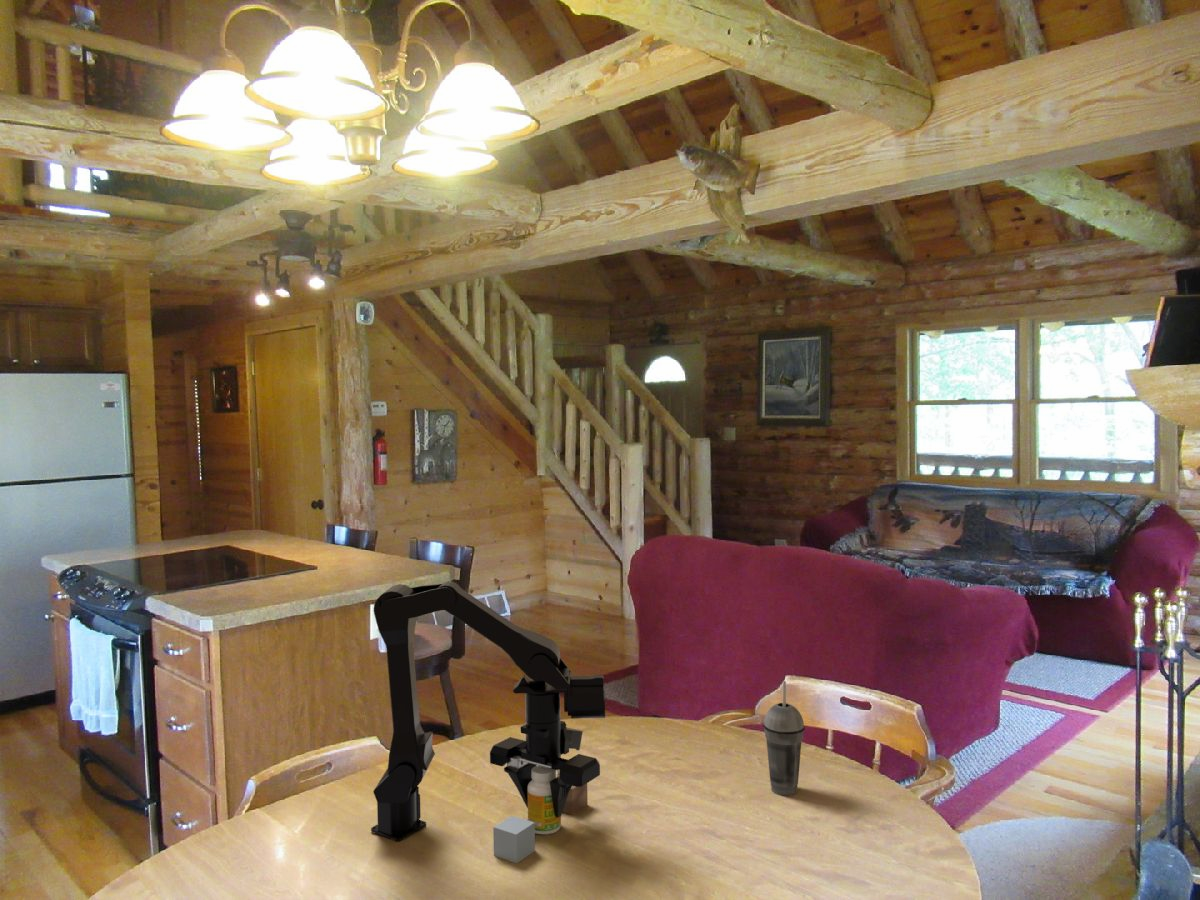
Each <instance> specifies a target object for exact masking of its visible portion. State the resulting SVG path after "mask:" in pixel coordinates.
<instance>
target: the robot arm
mask: <svg viewBox="0 0 1200 900" xmlns="http://www.w3.org/2000/svg"><path fill="white" fill-rule="evenodd" d="M441 611H444V612H447V613H448V614H450V615H451V616H452V617H454V618H456V619H457V620H458V621H460V622H462V623H463V624H465V625H466V626H468V627H470V629H472V630H474V631H475V632H477V633H478V634H479V635H481V636H482V637H484V638H486V639H487V640H489V641H490V642H491V643H493V644H495V645H496V646H497V647H498V648H500V649H502V650H503V651H504V652H505V653H506V655H508V657H509V658H510V659H511V661H512V662H513V663H514V664H515V666H516V667H518V668H519V669H520V671H522V672H523V674H522V676H521V677H520V679H519V680H518V681H516V682H515V683H514V686H513V690H512V693H513V694H524V699H525V700H524V701H525V703H524V704H525V705H524V706H525V713H524V714H525V716H524V718H525V724H524V725H522V726H520V733H521V734H524V735H525V740H523V739H519V738H514V737H507V738H505V739H503V740H501V741H500V742H498V743H496V744H493V745H492V747H491V748H490V750H489V763H490V764H491V765H495V766H499V767H504V768H503V772H504V773H507V774H508V776H509V778H510V779H511V781H512V782H513V784H514V786H515V788H516V789H517V791H518V793H519V795H520V796H521V799H522V800H523V801H522V802H524V804H525V806H526V808H527V809H528V784H529V782H530V781H531V780H532V777H531V771H532V768H533V767H535V766H537V765H539V766H543V767H547V768H550V769H554V770H556V771H557V773H556V778H555V779H553V780H552V781H550V788H551V795H552V801H553V808H554V813H555V816H556V817H557V818H558V817H560V816H561V817H562V815H563V813H564V812H563V809H564V806H565V803H566V800H567V797H568V794H569V792H570V789H571V787H572V786H576V787H581V786H584V785H585V784H587V785H588V783H590V782H591V781H593V780H594V779H596V778H598V777H599V776H600V775H601V765H600V761H599V760H598V759H597V758H596V757H593V756H589V755H584V754H582V753H581V754H580V753H577V754H576V755H574V756H573V757H571V758H569V759H567V758H563V757H562V755H566V754H569V753H570V749H573V750H576V751H580V749H581V745H582V738H583V733H584V732H583V730H580V729H576V728H571V727H567V722H566V721H565V720H561V694H562V693H563V712H564V713H567V716H569V717H570V719H606V690H605V685H604V684H605V681H604V680H605V679H604V674H592V675H573V674H572V670H571V669H570V667H568V665H567V664H566V662H564V660H563V659H562V657H561V650H560V646H559V645H558V643H556V642H555V641H554V640H553V639H552V638H550V637H547V636H545V635H543V634H541V633H538V632H537V631H532V630H529V629H526V628H523V627H520V626H518V625H516V624H515V623H513V622H512V621H510V620H508V619H507V618H506V617H504V616H503V615H501V614H500V613H498V612H497V611H495V610H494V609H493V608H492V607H491V608H490V606H488V605H487V604H485V603H484V602H482V601H481V600H479V599H478V598H476V597H475V596H473V595H472V594H470V593H469V592H467V591H466V590H464V589H463V588H462V587H461V586H460V585H459V584H458V583H457V582H454V581H450V580H449V581H444V582H442V583H437V584H435V583H434V584H424V585H417V586H413V587H410V586H409V585H406V584H399V583H398V584H395V585H393V586H391V587H390V588H388V589H387V590H386V591H384V592H383V593H382V594H381V595H379V597H378V598H377V599H376V601H375V602H374V604H373V614H374V615H373V616H374V618H375V622H376V626H377V630H378V632H379V635H380V637H381V639H382V641H383V643H384V644H385V648H386V661H387V671H388V683H389V696H390V708H391V709H390V710H391V719H392V737H391V744H390V747H389V748H390V749H389V754H388V762H387V763H388V764H387V768H386V770H385V771H384V774H383V775H382V777H381V778H380V780H379V781H378V783H377V785H376V786H375V788H374V790H373V794H374V797H375V800H376V803H377V804H376V807H377V809H376V810H377V824H375V825H373V826H372V827H371V828H370V831H371V832H372V833H375V834H377V835H379V836H382V837H386V838H388V839H390V840H394V841H396V842H397V841H401V840H403V839H405V838H407V837H409V836H410V835H412V834H414V833H415V832H417V831H420V830H421V829H423V828H424V827H426V826H427V821H424V820H423V819H422V820H421V795H420V792H419V791H420V789H419V788H420V787H419V785H420V784H421V782H422V781H423V779H424V777H425V775H426V772H427V771H428V769H429V767H430V765H431V763H432V761H433V759H434V757H435V755H436V753H435V750H434V748H433V747H434V746H433V737H434V736H433V735H434V734H433V731H429V732H425V731H424V730H423V727H422V725H421V722H420V712H419V710H420V709H419V699H418V688H417V687H418V686H417V676H416V675H417V674H416V662H415V652H414V651H415V650H414V649H415V648H414V636H415V630H416V625H417V620H418V619H417V618H418V617H421V616H424V615H429V614H432V613H435V612H441Z"/></svg>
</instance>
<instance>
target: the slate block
mask: <svg viewBox="0 0 1200 900" xmlns="http://www.w3.org/2000/svg"><path fill="white" fill-rule="evenodd" d="M492 830H493V856H494V857H497V858H500V859H503V860H506V861H508V862H512V863H514V864H518V863H520V862H521V861H522V860H523V859H525V858H527V857H528V856H529V855H531V854H533V853H534V852H535V851H536V836H535V835H536V833H535V823H534V822H531V821H528V819H524V818H521V817H518V816H515V815H510V816H509V817H507V818H505V819H504V820H503V821H501V822H500V823H498V824H496V825H494V826H493V829H492Z"/></svg>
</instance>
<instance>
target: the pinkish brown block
mask: <svg viewBox="0 0 1200 900" xmlns="http://www.w3.org/2000/svg"><path fill="white" fill-rule="evenodd" d="M588 798H589V797H588V783H587V784H585V785H584V786H581V787H576V786H572V787H571V789H570V792H569V794H568V797H567V800H566V803H565V806H564V809H563V812H562V813H564V814H569V815H572V816H573V815H575V814H576V813H578V812H579V811H581V810H582V809H584V808H585V807H587V806H588V804H589V801H588Z"/></svg>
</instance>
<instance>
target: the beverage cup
mask: <svg viewBox="0 0 1200 900" xmlns="http://www.w3.org/2000/svg"><path fill="white" fill-rule="evenodd" d="M762 726H763V729H764V730H763V731H764V736H765V738H766V749H767V760H768V770H769V782H770V788H771V789H770V790H771V792H772V793H773V794H776V795H778V796H783V797H784V796H785V797H786V796H787V797H788V796H789V797H790V796H794V795H796V794H797V793H798V785H799V773H800V765H801V763H800V762H801V751H802V750H801V749H802V742H803V737H804V731H805V729H806V728H805V724H804V719H803V716H802V713H801V712H800V711H799V710H798V709H797V707H795V706H794V705H792V704H790V703H787V682H786V680H785V681H784V680H783V681H782V702H779V703H776V704H774V705H773V706H771V707H770V708H769V709H767V711H766V714H765V716H764V721H763V725H762Z"/></svg>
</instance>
